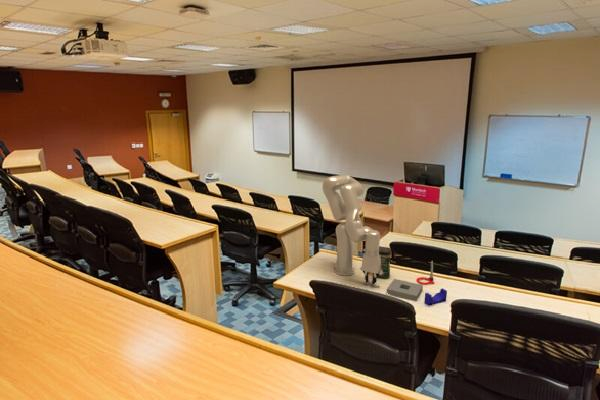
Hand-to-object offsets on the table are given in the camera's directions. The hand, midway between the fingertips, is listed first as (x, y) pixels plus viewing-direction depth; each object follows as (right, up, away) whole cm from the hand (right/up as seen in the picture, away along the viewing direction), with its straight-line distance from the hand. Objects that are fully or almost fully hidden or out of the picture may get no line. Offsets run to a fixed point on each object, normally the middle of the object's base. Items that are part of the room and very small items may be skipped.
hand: (370, 282), depth 212 cm
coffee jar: (+9, +1, +11) cm, 14 cm away
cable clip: (+30, -7, -18) cm, 35 cm away
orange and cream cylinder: (0, -2, 0) cm, 2 cm away
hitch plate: (+17, -4, -8) cm, 19 cm away
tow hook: (+32, -1, +4) cm, 32 cm away
